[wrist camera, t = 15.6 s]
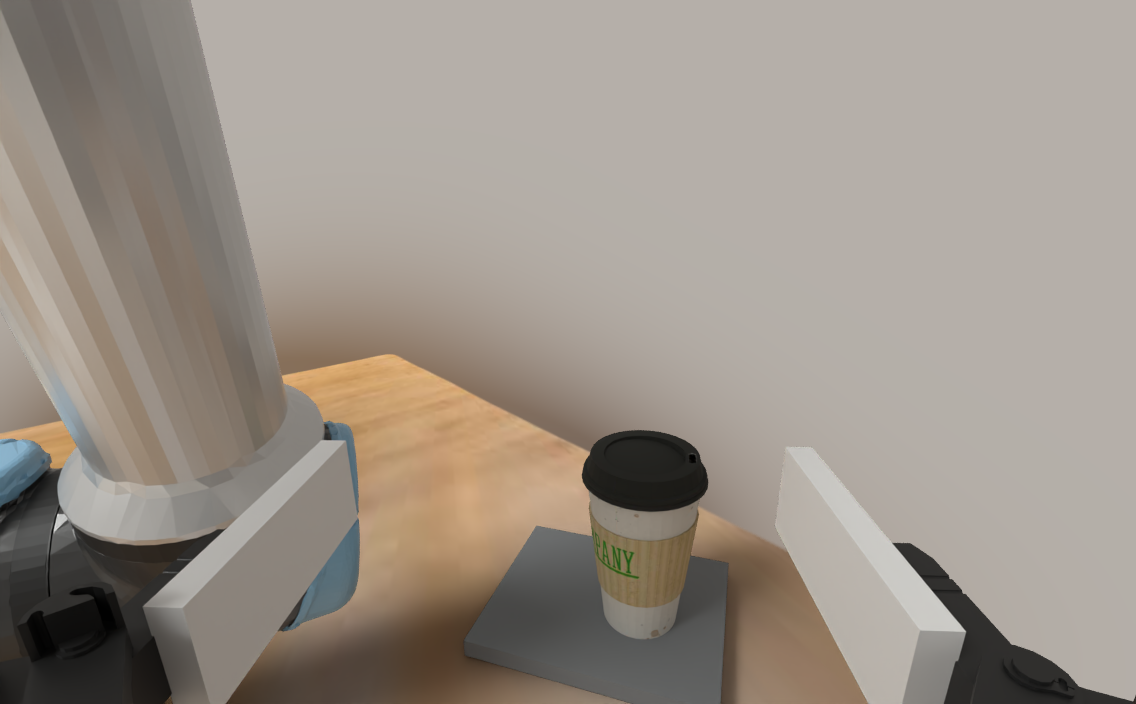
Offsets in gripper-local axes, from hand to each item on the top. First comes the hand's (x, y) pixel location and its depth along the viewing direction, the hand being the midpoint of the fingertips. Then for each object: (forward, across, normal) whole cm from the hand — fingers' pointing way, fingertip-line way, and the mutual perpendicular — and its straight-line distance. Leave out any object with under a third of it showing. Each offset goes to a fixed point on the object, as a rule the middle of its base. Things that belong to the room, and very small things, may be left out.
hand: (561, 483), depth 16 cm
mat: (+24, +2, -28) cm, 37 cm away
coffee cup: (+23, +5, -27) cm, 35 cm away
